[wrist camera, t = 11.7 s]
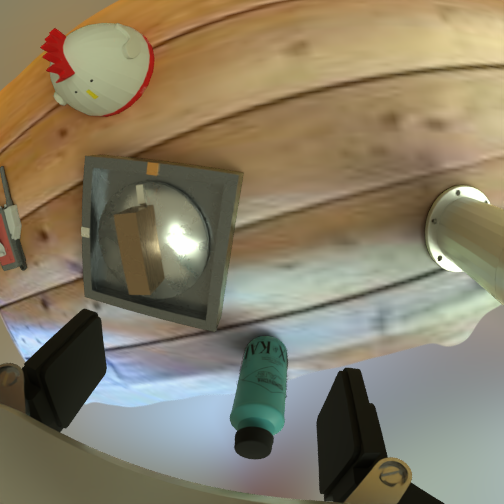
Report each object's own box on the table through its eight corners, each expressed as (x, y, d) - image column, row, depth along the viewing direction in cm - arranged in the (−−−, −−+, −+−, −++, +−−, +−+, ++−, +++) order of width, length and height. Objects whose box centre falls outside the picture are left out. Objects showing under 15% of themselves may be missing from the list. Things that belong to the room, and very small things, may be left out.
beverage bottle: (284, 365, 47) (279, 470, 28) (242, 358, 47) (219, 461, 28) (292, 331, 45) (291, 439, 26) (247, 325, 45) (223, 429, 26)
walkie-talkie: (36, 265, 47) (9, 163, 41) (21, 274, 43) (-8, 166, 37) (13, 271, 48) (-13, 178, 43) (-1, 280, 44) (-28, 182, 38)
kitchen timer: (88, 133, 38) (16, 135, 24) (67, 62, 35) (0, 46, 20) (167, 86, 35) (109, 60, 21) (139, 13, 32) (84, -28, 18)
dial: (216, 295, 41) (205, 318, 36) (114, 294, 43) (94, 313, 38) (202, 174, 36) (187, 179, 31) (94, 188, 38) (68, 196, 33)
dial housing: (243, 172, 38) (238, 175, 34) (221, 317, 45) (215, 332, 41) (100, 154, 39) (84, 156, 35) (97, 286, 46) (84, 297, 42)
